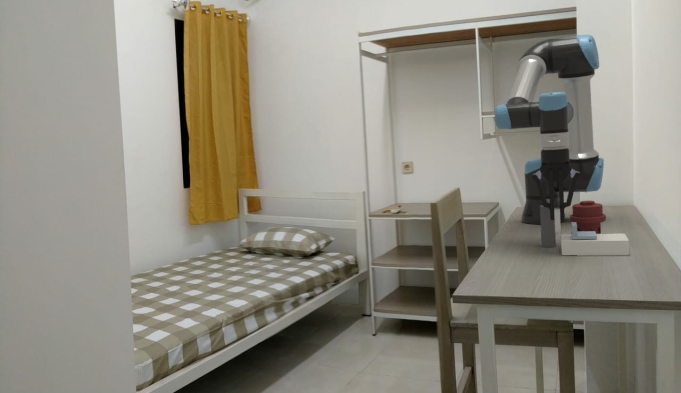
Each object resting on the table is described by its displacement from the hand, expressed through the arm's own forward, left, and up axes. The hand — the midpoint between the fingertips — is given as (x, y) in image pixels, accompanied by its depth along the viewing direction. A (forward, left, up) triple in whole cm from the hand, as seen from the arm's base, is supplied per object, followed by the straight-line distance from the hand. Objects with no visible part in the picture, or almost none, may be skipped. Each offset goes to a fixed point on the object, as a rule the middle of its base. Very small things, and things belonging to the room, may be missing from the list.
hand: (557, 231), depth 175 cm
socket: (0, +9, -6) cm, 11 cm away
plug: (-9, -3, -6) cm, 11 cm away
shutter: (0, +7, -2) cm, 7 cm away
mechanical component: (-13, +9, -6) cm, 17 cm away
